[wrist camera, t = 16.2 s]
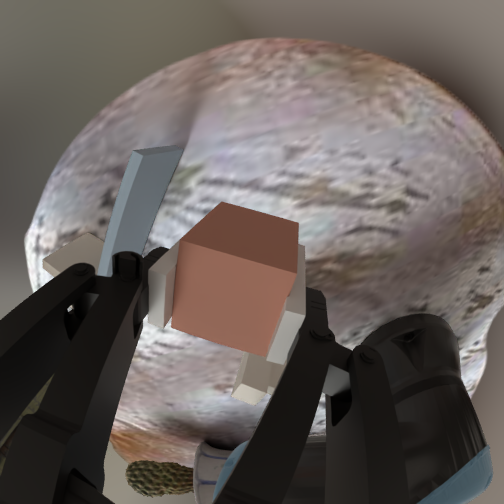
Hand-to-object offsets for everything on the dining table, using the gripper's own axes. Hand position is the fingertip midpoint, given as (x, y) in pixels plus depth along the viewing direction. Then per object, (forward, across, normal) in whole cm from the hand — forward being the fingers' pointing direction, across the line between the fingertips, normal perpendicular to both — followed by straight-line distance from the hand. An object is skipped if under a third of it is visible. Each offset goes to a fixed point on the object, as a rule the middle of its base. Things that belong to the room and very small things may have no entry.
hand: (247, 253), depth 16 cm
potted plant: (+11, 0, -52) cm, 53 cm away
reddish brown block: (0, 0, 0) cm, 1 cm away
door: (+10, -12, -4) cm, 16 cm away
